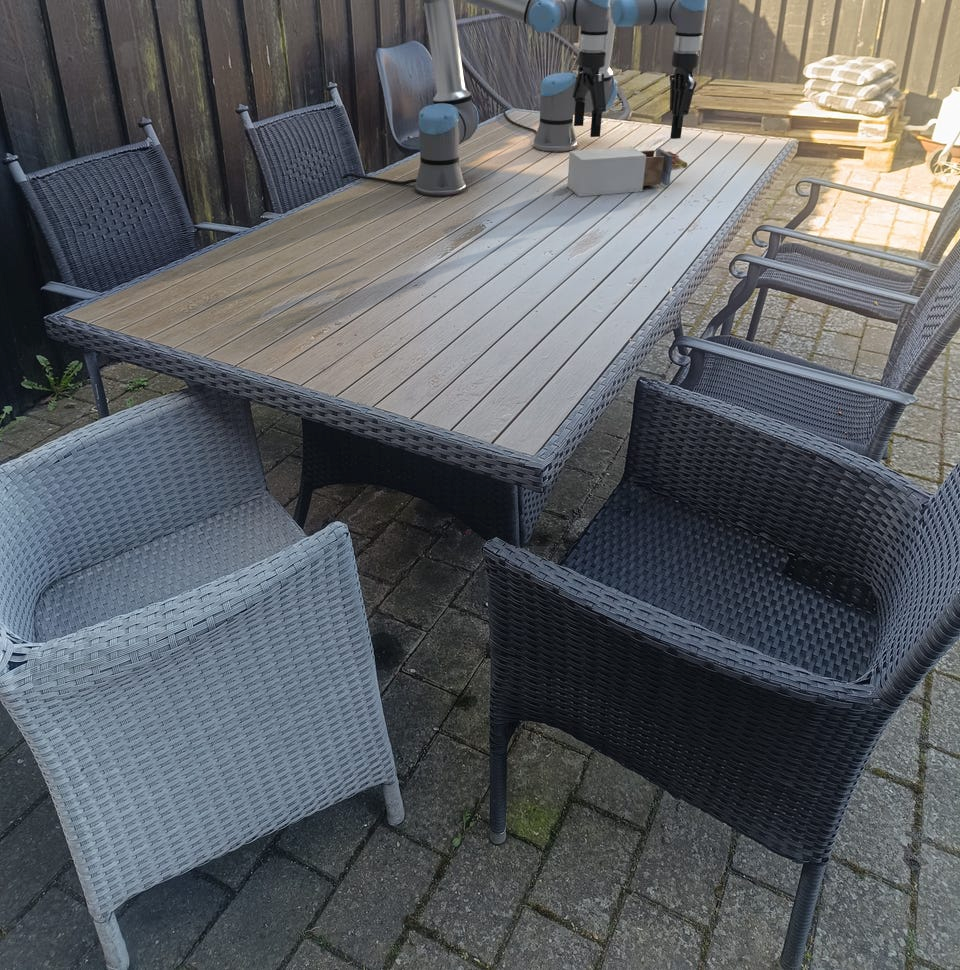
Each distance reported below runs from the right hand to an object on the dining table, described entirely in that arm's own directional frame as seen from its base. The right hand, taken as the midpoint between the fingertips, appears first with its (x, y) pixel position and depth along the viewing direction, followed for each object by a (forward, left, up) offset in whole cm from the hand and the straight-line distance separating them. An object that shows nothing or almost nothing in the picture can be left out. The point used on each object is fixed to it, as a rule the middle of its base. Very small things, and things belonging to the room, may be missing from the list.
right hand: (675, 138), depth 256 cm
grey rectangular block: (+1, -22, -14) cm, 26 cm away
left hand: (+1, -29, +4) cm, 29 cm away
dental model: (-19, +8, -14) cm, 25 cm away
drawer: (0, -9, -13) cm, 16 cm away
